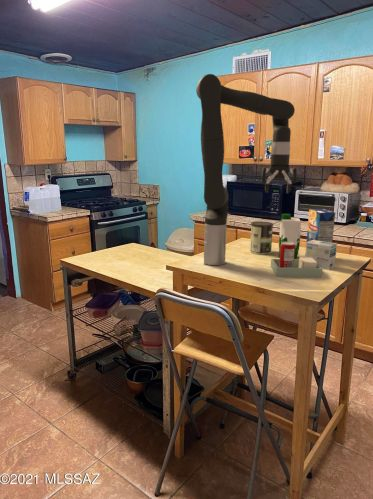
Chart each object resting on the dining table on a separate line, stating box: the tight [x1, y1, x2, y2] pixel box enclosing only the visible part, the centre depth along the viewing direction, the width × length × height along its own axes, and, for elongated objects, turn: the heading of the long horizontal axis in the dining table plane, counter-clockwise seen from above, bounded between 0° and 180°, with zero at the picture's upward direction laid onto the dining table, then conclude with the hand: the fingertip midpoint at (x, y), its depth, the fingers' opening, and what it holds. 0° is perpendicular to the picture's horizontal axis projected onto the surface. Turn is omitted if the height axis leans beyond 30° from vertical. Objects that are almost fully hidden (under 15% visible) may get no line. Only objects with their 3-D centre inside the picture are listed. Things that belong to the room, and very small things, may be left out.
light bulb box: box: [304, 240, 338, 271], centre depth 162 cm, size 11×7×11 cm, turn 48°
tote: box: [270, 258, 323, 278], centre depth 154 cm, size 17×13×4 cm
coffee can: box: [249, 220, 274, 255], centre depth 185 cm, size 10×10×14 cm
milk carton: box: [278, 213, 302, 259], centre depth 174 cm, size 9×9×20 cm
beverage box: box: [304, 208, 336, 257], centre depth 173 cm, size 7×11×22 cm, turn 7°
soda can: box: [279, 242, 295, 268], centre depth 153 cm, size 6×6×12 cm
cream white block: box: [298, 256, 317, 268], centre depth 154 cm, size 5×7×5 cm
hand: (277, 192), depth 164 cm, fingers open, 8 cm apart
